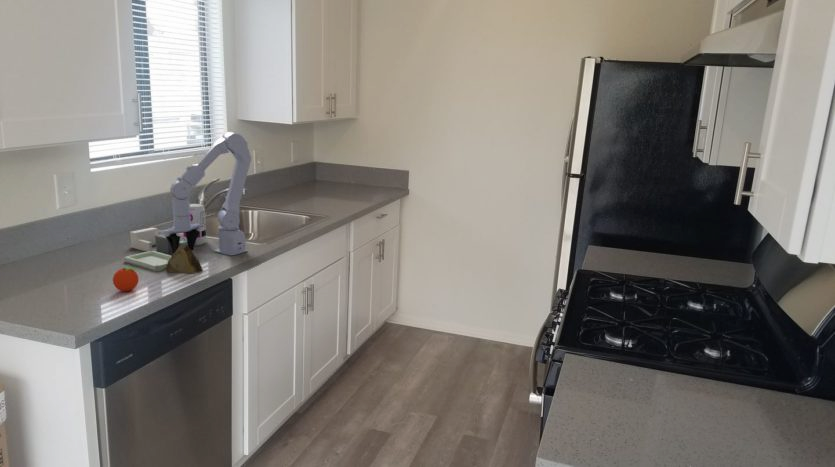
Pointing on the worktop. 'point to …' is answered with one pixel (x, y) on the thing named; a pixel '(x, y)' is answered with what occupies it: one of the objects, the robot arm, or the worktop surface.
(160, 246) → the toner caddy
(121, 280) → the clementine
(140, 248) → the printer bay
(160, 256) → the tray
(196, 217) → the supplement can
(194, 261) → the rock
